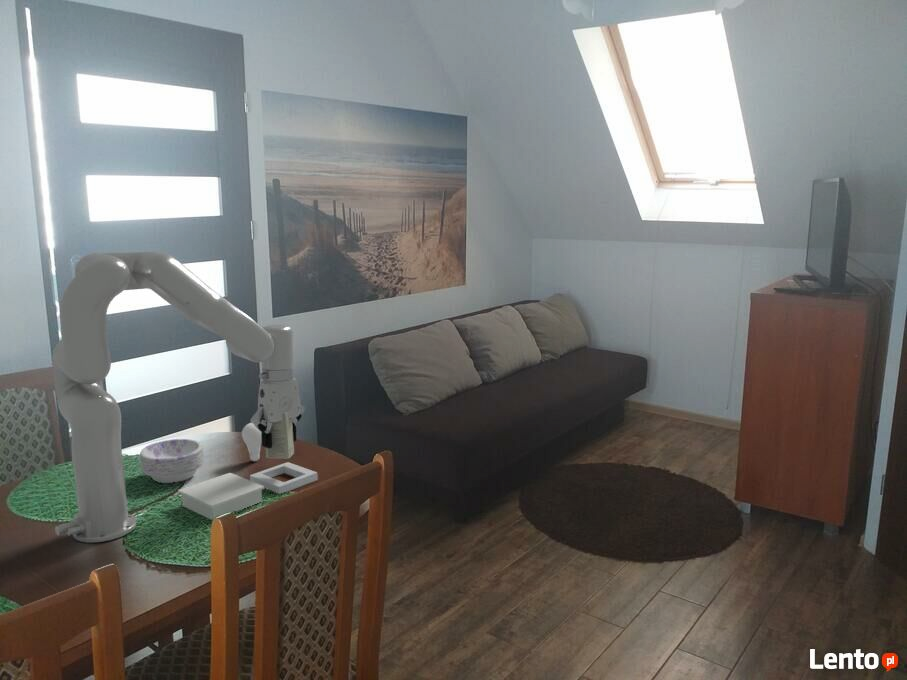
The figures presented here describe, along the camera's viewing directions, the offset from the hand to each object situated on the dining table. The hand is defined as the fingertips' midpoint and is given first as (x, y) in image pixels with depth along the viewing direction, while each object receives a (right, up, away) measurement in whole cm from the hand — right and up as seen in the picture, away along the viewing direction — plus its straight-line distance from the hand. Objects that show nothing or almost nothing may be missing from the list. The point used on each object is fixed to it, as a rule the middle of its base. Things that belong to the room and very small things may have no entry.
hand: (279, 443), depth 182 cm
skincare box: (0, -4, +1) cm, 4 cm away
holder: (+1, -10, +3) cm, 10 cm away
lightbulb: (-11, -8, +17) cm, 21 cm away
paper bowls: (-29, -10, +6) cm, 31 cm away
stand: (-11, -13, -11) cm, 20 cm away
